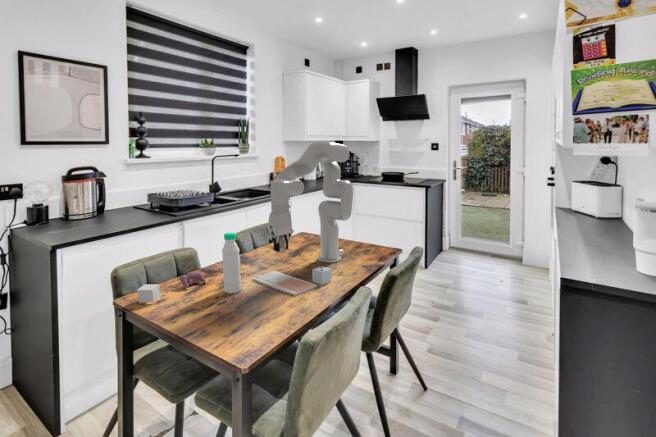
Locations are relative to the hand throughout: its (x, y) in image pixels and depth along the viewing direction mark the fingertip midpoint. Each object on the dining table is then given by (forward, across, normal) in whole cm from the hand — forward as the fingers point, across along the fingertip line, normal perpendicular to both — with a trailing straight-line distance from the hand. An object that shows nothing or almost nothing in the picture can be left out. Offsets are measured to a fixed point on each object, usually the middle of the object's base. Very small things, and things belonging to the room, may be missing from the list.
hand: (281, 249), depth 170 cm
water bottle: (+16, +20, -8) cm, 27 cm away
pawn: (+1, 0, 0) cm, 1 cm away
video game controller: (+16, +28, -26) cm, 42 cm away
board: (+15, 0, +1) cm, 15 cm away
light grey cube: (+16, +49, -23) cm, 56 cm away
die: (+16, -13, +12) cm, 24 cm away
